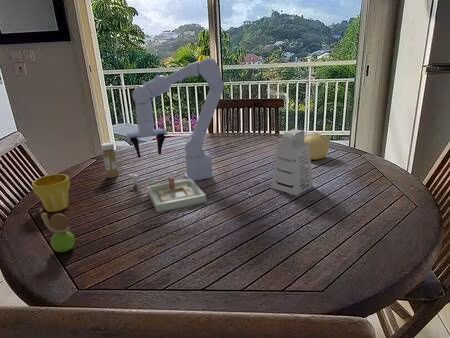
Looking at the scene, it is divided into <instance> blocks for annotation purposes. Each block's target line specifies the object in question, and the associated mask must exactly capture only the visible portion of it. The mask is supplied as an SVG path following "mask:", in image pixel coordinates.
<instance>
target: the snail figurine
mask: <svg viewBox="0 0 450 338" xmlns="http://www.w3.org/2000/svg"><path fill="white" fill-rule="evenodd" d="M38 212H39V213H40V217H41V219H42V221H43V223H44V225H45V227H46V228H47V229H48V230H49V231H51V232H53V233H54V234H53V235H52V236H51V238H50V245H51V248H52V249H53V250H54V251H56V252H57V253H65V252H69V251H70V250H71V249H72V248H73V247H74V244H75V235H74V233H72V232H71V231H69V230H70V229H71V226H69V223H70V221H69V218H68V217H67V216H66V215H65V214H63V213H54V214H53V215H51V217H50V219H49V218H48V213H46V212H43V208H39V210H38Z"/></svg>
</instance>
